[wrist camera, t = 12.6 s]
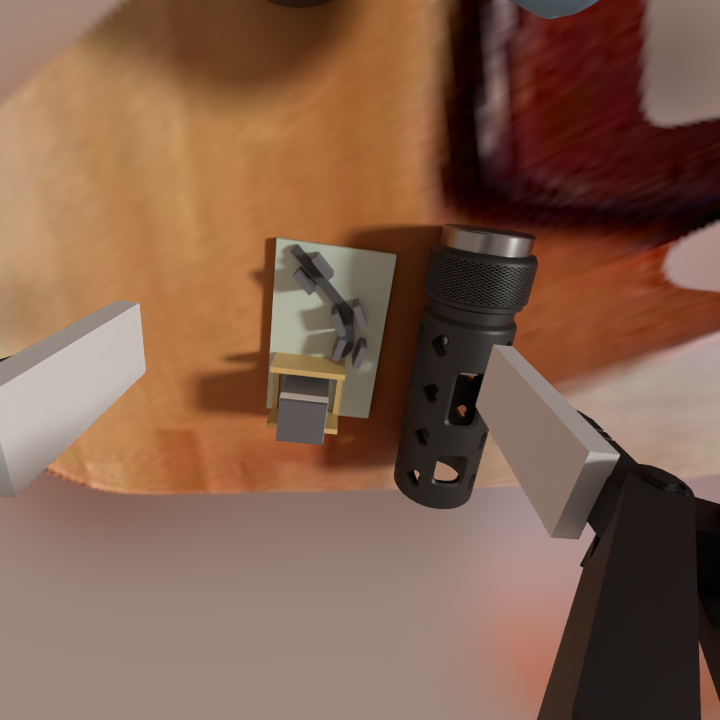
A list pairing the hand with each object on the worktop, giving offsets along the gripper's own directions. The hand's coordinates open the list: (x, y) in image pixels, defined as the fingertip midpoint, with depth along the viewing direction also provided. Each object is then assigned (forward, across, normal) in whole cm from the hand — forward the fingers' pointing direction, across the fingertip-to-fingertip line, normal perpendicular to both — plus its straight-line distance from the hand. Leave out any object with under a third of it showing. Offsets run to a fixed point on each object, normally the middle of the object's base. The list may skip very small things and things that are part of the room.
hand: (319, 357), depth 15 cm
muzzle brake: (+28, +14, -10) cm, 33 cm away
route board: (+28, 0, -10) cm, 29 cm away
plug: (+27, -1, -16) cm, 31 cm away
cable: (+27, -1, -6) cm, 28 cm away
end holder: (+28, -1, -16) cm, 32 cm away
